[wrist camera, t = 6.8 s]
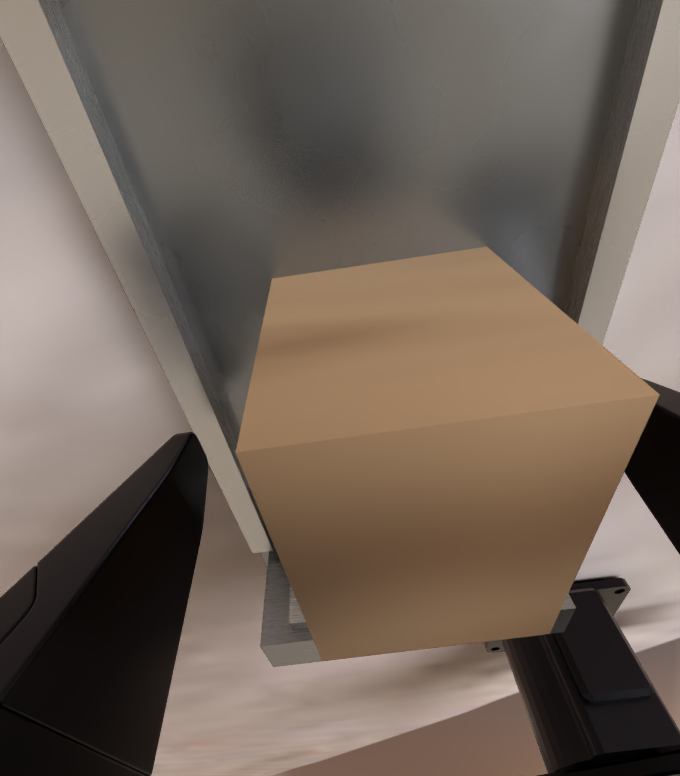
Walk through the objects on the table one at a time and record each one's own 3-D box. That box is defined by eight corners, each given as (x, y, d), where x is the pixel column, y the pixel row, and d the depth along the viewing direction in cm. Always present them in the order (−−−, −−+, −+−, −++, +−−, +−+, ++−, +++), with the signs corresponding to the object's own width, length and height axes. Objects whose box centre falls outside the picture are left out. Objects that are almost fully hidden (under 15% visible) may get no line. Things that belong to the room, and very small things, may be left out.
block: (467, 449, 12) (549, 633, 8) (318, 469, 12) (322, 661, 8) (486, 246, 8) (660, 394, 4) (272, 278, 8) (235, 452, 4)
